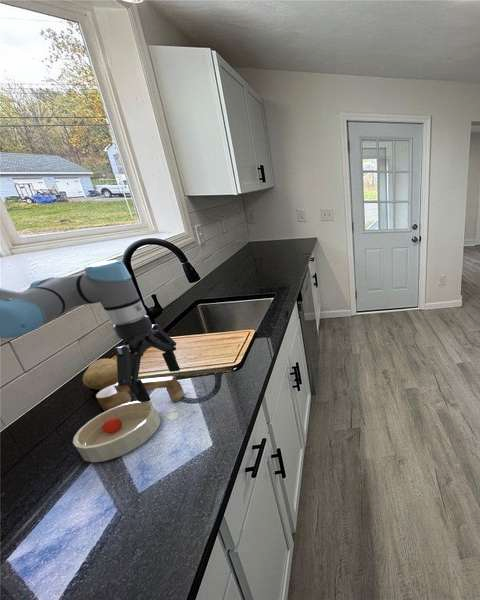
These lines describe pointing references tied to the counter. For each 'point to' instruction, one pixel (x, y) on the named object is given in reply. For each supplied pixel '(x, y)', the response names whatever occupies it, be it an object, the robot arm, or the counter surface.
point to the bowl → (132, 433)
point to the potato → (101, 374)
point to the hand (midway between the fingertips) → (161, 385)
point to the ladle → (120, 395)
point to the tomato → (112, 425)
